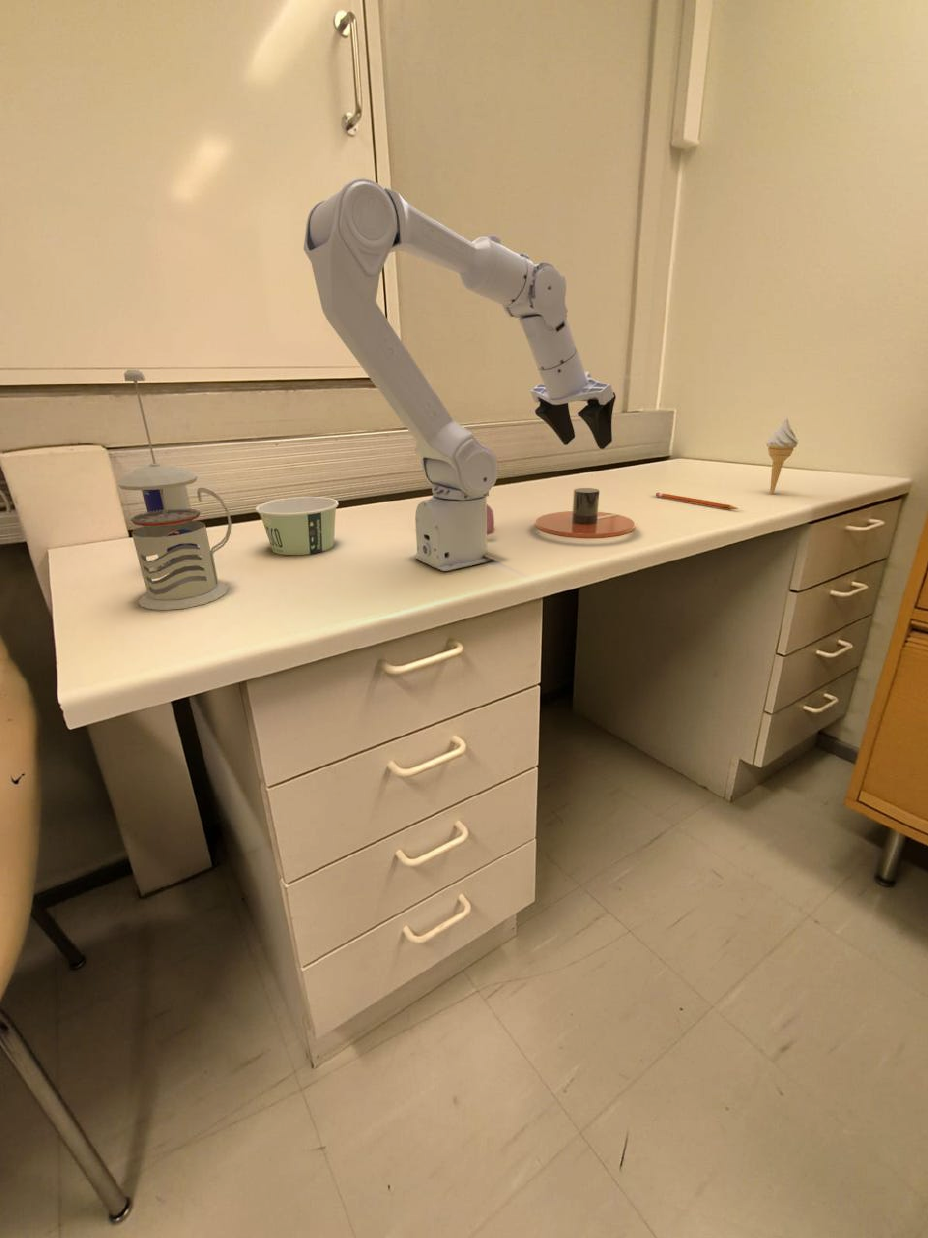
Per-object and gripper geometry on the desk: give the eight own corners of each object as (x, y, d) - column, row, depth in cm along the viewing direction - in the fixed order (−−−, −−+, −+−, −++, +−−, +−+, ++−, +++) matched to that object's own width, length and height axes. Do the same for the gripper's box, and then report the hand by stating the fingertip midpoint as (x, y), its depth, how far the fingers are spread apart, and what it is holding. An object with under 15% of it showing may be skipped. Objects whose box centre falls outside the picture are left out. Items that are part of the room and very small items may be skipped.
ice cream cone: (750, 492, 118) (764, 416, 112) (772, 490, 120) (786, 415, 114) (771, 497, 113) (786, 418, 107) (793, 495, 115) (810, 417, 109)
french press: (142, 588, 70) (85, 370, 61) (240, 574, 75) (202, 368, 65) (135, 616, 62) (68, 368, 52) (246, 598, 66) (203, 366, 57)
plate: (584, 543, 81) (587, 504, 79) (516, 523, 93) (517, 489, 91) (655, 526, 89) (659, 491, 87) (584, 510, 101) (586, 478, 99)
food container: (358, 544, 87) (354, 502, 85) (293, 563, 79) (286, 517, 76) (311, 532, 95) (306, 493, 92) (246, 549, 86) (239, 506, 83)
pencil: (657, 495, 116) (658, 492, 116) (740, 510, 103) (740, 506, 103) (655, 496, 116) (655, 492, 116) (737, 510, 102) (738, 506, 102)
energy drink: (156, 571, 77) (134, 482, 72) (165, 560, 81) (144, 476, 77) (199, 567, 78) (180, 479, 73) (204, 557, 83) (187, 473, 78)
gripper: (615, 339, 73) (641, 430, 81) (541, 345, 84) (571, 424, 92) (580, 369, 72) (610, 459, 80) (509, 371, 83) (542, 450, 91)
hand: (587, 442), depth 86 cm, fingers open, 7 cm apart
